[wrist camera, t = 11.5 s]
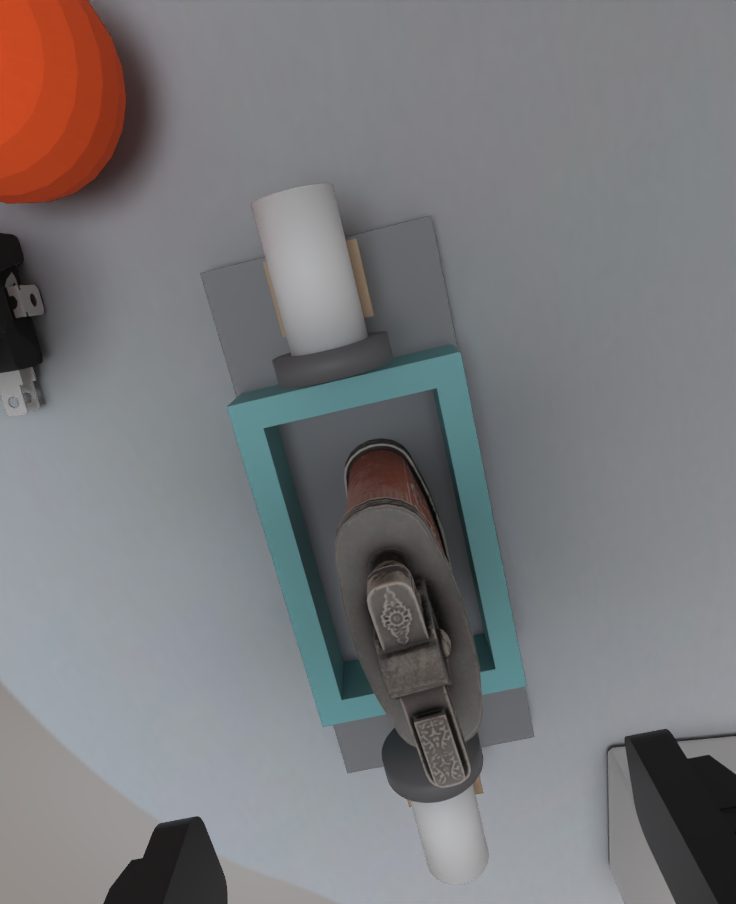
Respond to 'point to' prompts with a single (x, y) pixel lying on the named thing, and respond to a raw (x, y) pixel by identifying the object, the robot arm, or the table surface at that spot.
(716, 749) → the medicine bottle
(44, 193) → the clementine
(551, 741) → the table surface
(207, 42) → the table surface
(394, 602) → the lighter
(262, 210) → the shaft cradle
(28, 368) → the push button
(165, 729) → the table surface
